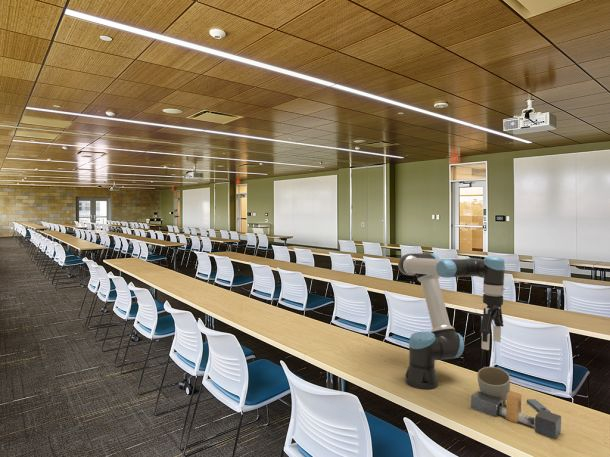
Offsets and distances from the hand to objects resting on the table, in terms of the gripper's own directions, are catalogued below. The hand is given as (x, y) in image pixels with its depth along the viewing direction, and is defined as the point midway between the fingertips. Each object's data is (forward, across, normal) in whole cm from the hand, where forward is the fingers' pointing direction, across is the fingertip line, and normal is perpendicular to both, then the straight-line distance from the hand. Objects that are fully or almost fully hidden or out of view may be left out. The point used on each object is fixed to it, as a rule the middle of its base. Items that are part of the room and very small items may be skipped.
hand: (491, 345), depth 159 cm
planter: (+25, +7, 0) cm, 26 cm away
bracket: (+27, +14, -15) cm, 34 cm away
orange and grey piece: (+26, -3, -8) cm, 28 cm away
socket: (+26, -4, -22) cm, 34 cm away
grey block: (+26, -3, 0) cm, 26 cm away
